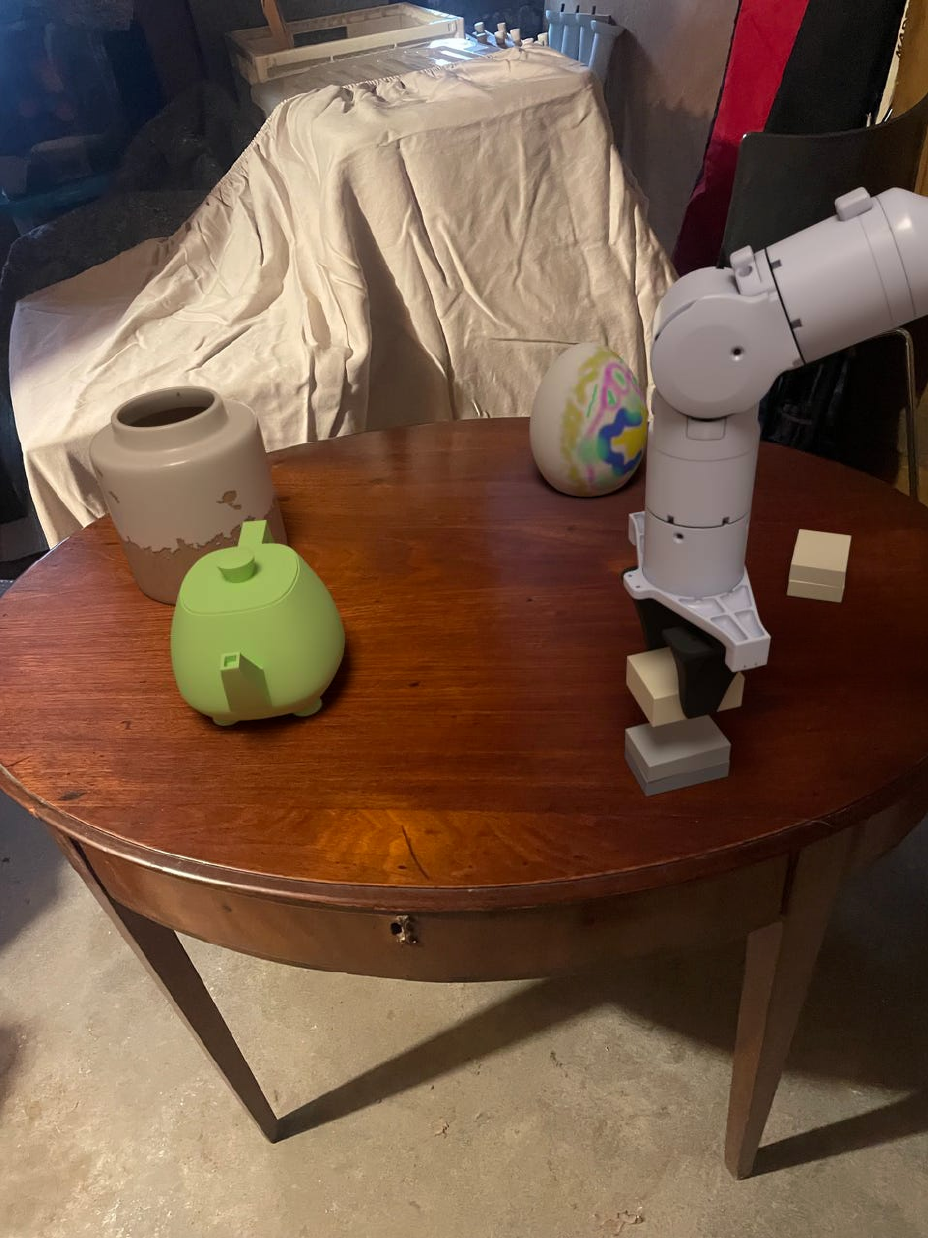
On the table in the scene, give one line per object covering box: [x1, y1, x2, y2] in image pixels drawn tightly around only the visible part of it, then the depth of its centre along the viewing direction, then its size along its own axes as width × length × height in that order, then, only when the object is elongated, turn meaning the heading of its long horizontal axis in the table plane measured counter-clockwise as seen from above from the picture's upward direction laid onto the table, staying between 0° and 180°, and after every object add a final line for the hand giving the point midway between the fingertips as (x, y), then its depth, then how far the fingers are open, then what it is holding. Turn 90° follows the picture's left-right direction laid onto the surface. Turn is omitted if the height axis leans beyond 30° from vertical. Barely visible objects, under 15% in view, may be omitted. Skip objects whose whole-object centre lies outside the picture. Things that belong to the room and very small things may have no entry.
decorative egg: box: [529, 341, 649, 498], centre depth 91 cm, size 12×12×15 cm
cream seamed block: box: [786, 528, 852, 604], centre depth 76 cm, size 6×4×3 cm
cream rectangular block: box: [625, 647, 746, 727], centre depth 56 cm, size 6×4×2 cm
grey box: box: [624, 715, 732, 798], centre depth 60 cm, size 6×4×3 cm, turn 104°
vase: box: [88, 385, 289, 606], centre depth 83 cm, size 15×15×17 cm
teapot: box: [170, 520, 346, 727], centre depth 68 cm, size 20×13×13 cm
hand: (682, 687), depth 57 cm, fingers closed on cream rectangular block, 4 cm apart
